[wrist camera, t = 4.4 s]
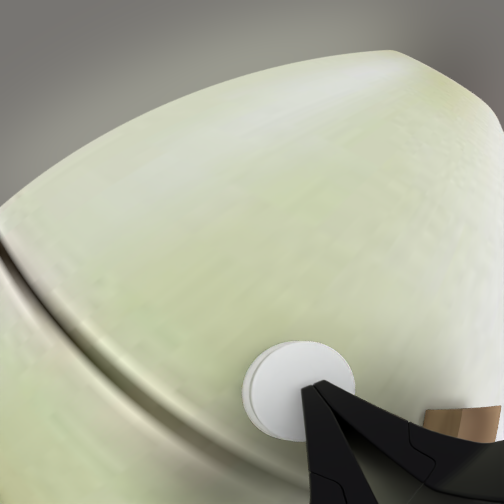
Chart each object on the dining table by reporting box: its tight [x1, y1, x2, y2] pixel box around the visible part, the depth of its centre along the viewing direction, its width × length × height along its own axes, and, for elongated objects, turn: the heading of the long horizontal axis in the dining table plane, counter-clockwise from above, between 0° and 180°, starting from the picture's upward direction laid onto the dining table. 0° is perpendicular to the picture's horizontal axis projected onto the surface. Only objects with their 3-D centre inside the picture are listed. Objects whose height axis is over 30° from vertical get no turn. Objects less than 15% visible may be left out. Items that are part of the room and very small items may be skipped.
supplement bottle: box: [242, 341, 355, 442], centre depth 13 cm, size 5×5×8 cm
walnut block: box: [423, 406, 501, 443], centre depth 13 cm, size 4×4×4 cm
